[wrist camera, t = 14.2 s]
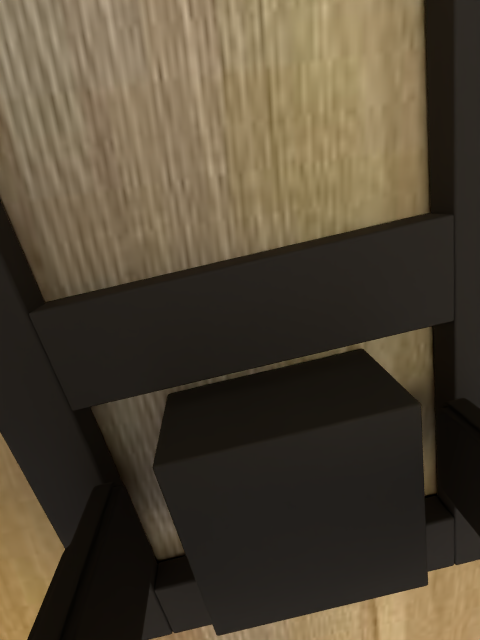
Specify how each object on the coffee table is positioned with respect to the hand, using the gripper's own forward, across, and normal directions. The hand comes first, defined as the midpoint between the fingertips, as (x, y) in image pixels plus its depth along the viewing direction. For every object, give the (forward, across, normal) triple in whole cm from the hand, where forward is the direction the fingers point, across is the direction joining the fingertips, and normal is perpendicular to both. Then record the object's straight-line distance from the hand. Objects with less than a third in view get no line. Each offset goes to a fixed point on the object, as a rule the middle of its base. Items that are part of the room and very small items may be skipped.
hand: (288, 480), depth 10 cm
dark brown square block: (+1, 0, 0) cm, 1 cm away
